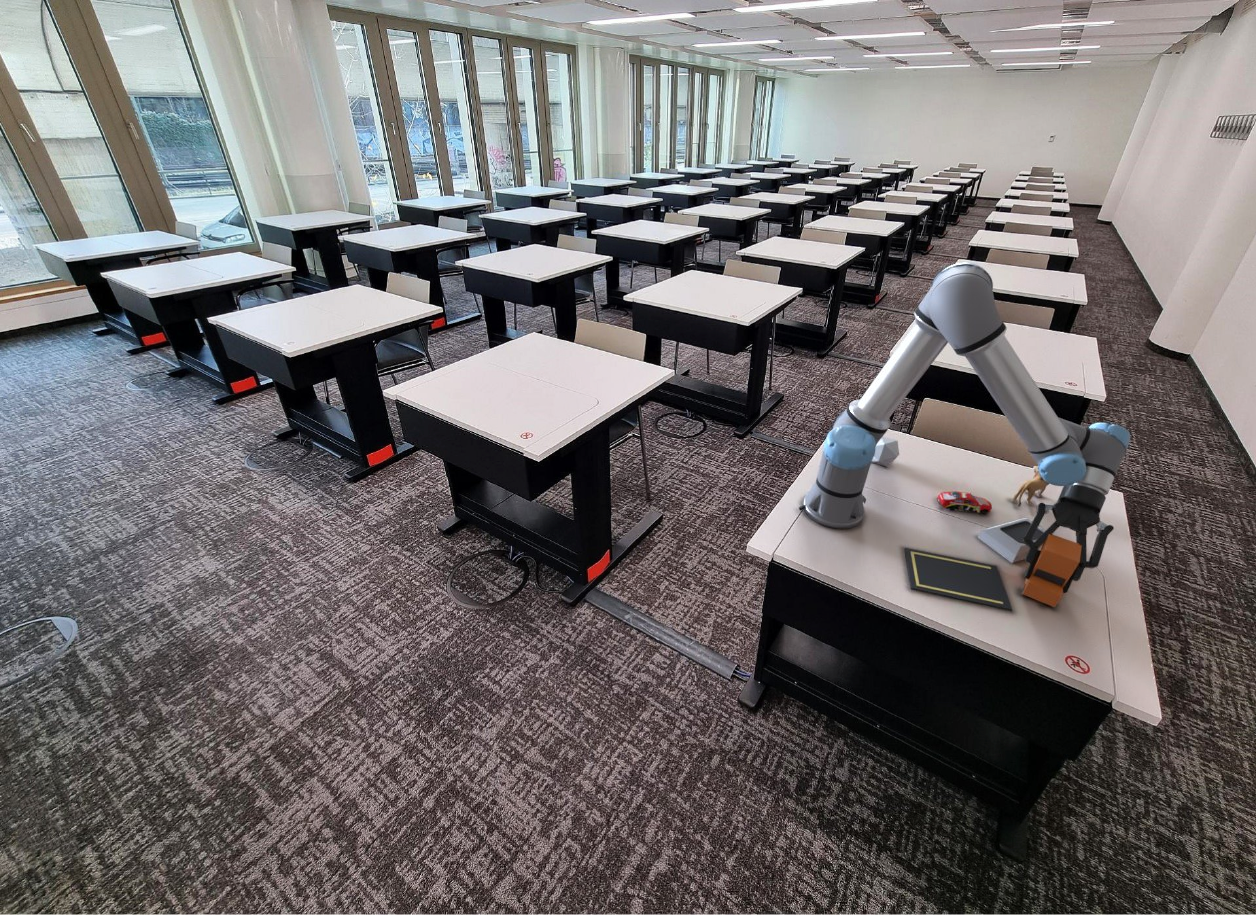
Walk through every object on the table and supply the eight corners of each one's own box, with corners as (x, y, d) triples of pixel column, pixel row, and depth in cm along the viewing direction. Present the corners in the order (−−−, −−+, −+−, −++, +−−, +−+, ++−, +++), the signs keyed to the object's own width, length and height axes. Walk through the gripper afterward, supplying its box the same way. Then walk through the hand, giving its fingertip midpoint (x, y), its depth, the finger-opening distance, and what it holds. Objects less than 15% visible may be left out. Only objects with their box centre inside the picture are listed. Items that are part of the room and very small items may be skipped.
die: (899, 462, 164) (890, 431, 165) (906, 464, 156) (897, 431, 156) (870, 469, 167) (862, 438, 167) (875, 471, 158) (866, 438, 158)
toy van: (1052, 610, 114) (1078, 570, 108) (1020, 597, 118) (1043, 557, 111) (1057, 584, 121) (1082, 544, 115) (1026, 572, 124) (1048, 533, 118)
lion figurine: (1025, 483, 154) (1038, 457, 149) (1046, 491, 151) (1060, 465, 146) (1007, 504, 146) (1021, 477, 141) (1029, 513, 143) (1044, 486, 138)
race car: (986, 504, 146) (992, 493, 144) (993, 517, 141) (998, 505, 139) (934, 497, 148) (939, 486, 146) (939, 509, 144) (944, 497, 142)
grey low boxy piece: (983, 526, 132) (1027, 514, 136) (977, 537, 134) (1021, 525, 138) (1018, 551, 125) (1063, 537, 129) (1012, 563, 127) (1056, 548, 131)
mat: (910, 589, 120) (911, 587, 119) (904, 548, 131) (904, 547, 131) (1011, 611, 114) (1012, 609, 114) (995, 566, 126) (996, 565, 125)
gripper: (1133, 510, 116) (1093, 607, 114) (1031, 479, 126) (993, 567, 124) (1146, 503, 110) (1104, 605, 108) (1038, 470, 120) (997, 563, 118)
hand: (1044, 584), depth 116 cm, fingers closed on toy van, 6 cm apart
